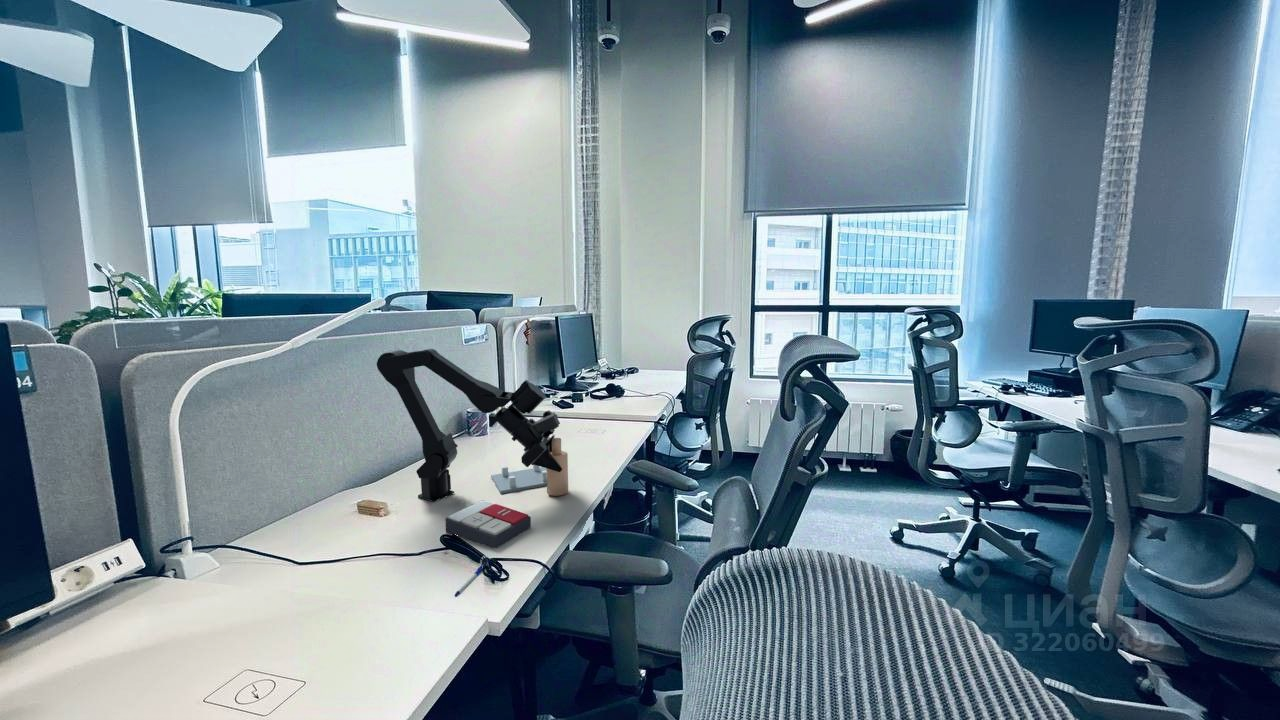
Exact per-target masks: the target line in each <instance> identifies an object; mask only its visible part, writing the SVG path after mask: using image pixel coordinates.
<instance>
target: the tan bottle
mask: <svg viewBox="0 0 1280 720" xmlns="http://www.w3.org/2000/svg"><path fill="white" fill-rule="evenodd" d="M550 454H551V455H552V456H553V457H554V459H555V460H556V461H557V462H558V463H559V465H560V466H561V467H562V471H561V472H557V471H554V470H551V469H547V468H546V474H547V486H546V493H547V494H548V495H550V496H562V495H566V494H567V493H569V461H568V460H569V459H568V454H569V453H568V452H567V451H564V450H562V438H561V437H554V438H553V439H552V452H550Z"/></svg>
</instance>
